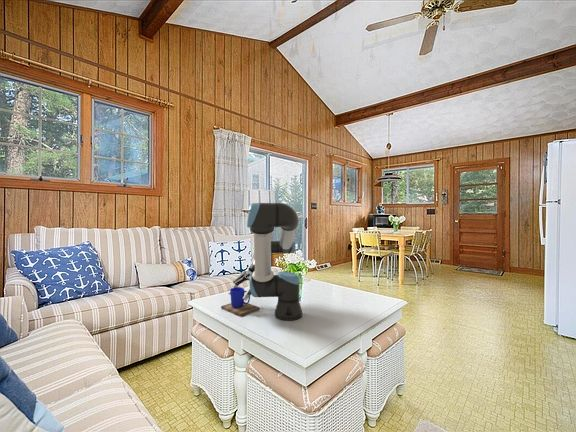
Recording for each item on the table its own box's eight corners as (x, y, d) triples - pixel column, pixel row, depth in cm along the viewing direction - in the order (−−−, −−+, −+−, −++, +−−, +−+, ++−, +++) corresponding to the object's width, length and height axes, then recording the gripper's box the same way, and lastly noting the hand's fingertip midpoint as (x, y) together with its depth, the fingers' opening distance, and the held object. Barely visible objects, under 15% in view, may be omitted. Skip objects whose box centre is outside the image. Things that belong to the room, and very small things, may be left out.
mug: (247, 309, 157) (247, 292, 157) (227, 308, 159) (227, 290, 159) (252, 304, 165) (252, 288, 165) (233, 303, 168) (233, 286, 167)
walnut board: (259, 309, 161) (259, 307, 161) (240, 316, 151) (240, 313, 151) (240, 302, 173) (240, 300, 173) (221, 308, 163) (221, 306, 163)
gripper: (274, 273, 164) (254, 305, 154) (247, 267, 181) (228, 296, 171) (267, 266, 160) (247, 298, 150) (240, 260, 177) (220, 289, 167)
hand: (236, 297), depth 160 cm, fingers open, 13 cm apart
